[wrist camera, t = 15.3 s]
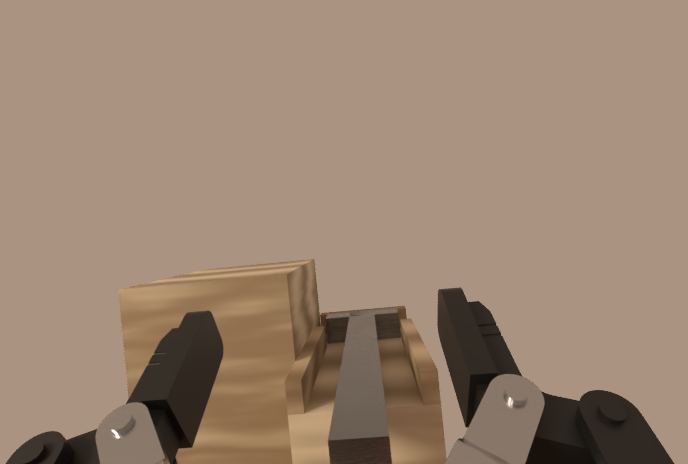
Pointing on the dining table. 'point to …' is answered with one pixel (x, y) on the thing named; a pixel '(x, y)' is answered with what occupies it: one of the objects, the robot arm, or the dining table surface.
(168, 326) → the stand
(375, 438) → the t handle
